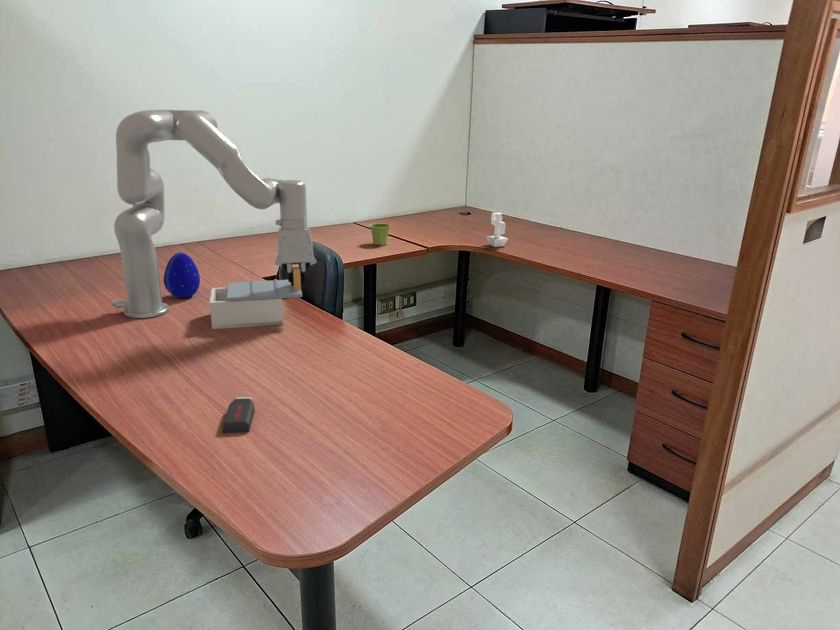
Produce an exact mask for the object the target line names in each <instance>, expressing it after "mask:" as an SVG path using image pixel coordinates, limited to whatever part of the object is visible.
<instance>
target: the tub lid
mask: <svg viewBox="0 0 840 630" xmlns="http://www.w3.org/2000/svg"><path fill="white" fill-rule="evenodd" d="M299 264H300V263H297V264H296V265H292V271H293V281H294V285H293V286H291V282H289V281H288V280H280V279H277V278H275V279H273V280H258V281H256V280H255V281H254V280H253V279H251V280H250V281H238V282H237V281H236V282H235V281H234V282H228V283H227V284H228V285H227V287H228V293H227V301H242V300H259V299H277V298H282V299H291V298H302V297H303V292H302V285H301V277H300V268H301V267H300V265H299Z"/></svg>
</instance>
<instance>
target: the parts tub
mask: <svg viewBox="0 0 840 630" xmlns="http://www.w3.org/2000/svg"><path fill="white" fill-rule="evenodd" d="M227 293H228V286H227V287H225V286H224V287H211V292H210V299H209V309H210V319H211V320H210V321H211V329H212V330H219V329H220V330H221V329H237V328H248V327H249V328H252V327H262V326H266V327H267V326H276V325H277V326H278V325H284V310H283V298H277V299H259V300H242V301H227Z"/></svg>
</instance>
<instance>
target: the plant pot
mask: <svg viewBox="0 0 840 630" xmlns="http://www.w3.org/2000/svg"><path fill="white" fill-rule="evenodd" d="M390 227H391V224H389V223H379V222H378V223H370V224H369V228H370V231H371V236H372V243H373V245H374V246H379V247H380V246H386V245H387V244H388V241H389V240H388V238H389V232H390Z"/></svg>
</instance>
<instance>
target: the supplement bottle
mask: <svg viewBox="0 0 840 630" xmlns="http://www.w3.org/2000/svg"><path fill="white" fill-rule="evenodd" d="M296 264H298V263H291V269H292V265H296ZM278 271H279V274H278V275H279V276H278V277H279V280H288V272H287V271H286V270H285V269H284V268H283V267H280V268H279V269H278Z"/></svg>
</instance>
